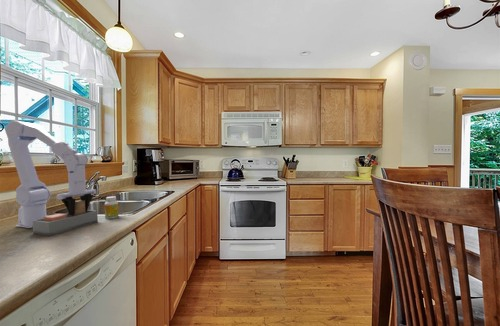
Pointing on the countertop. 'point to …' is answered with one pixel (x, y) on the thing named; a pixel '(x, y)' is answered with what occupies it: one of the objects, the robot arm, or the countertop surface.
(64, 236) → the countertop surface
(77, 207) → the cylinder
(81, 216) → the box
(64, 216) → the cube
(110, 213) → the supplement bottle
